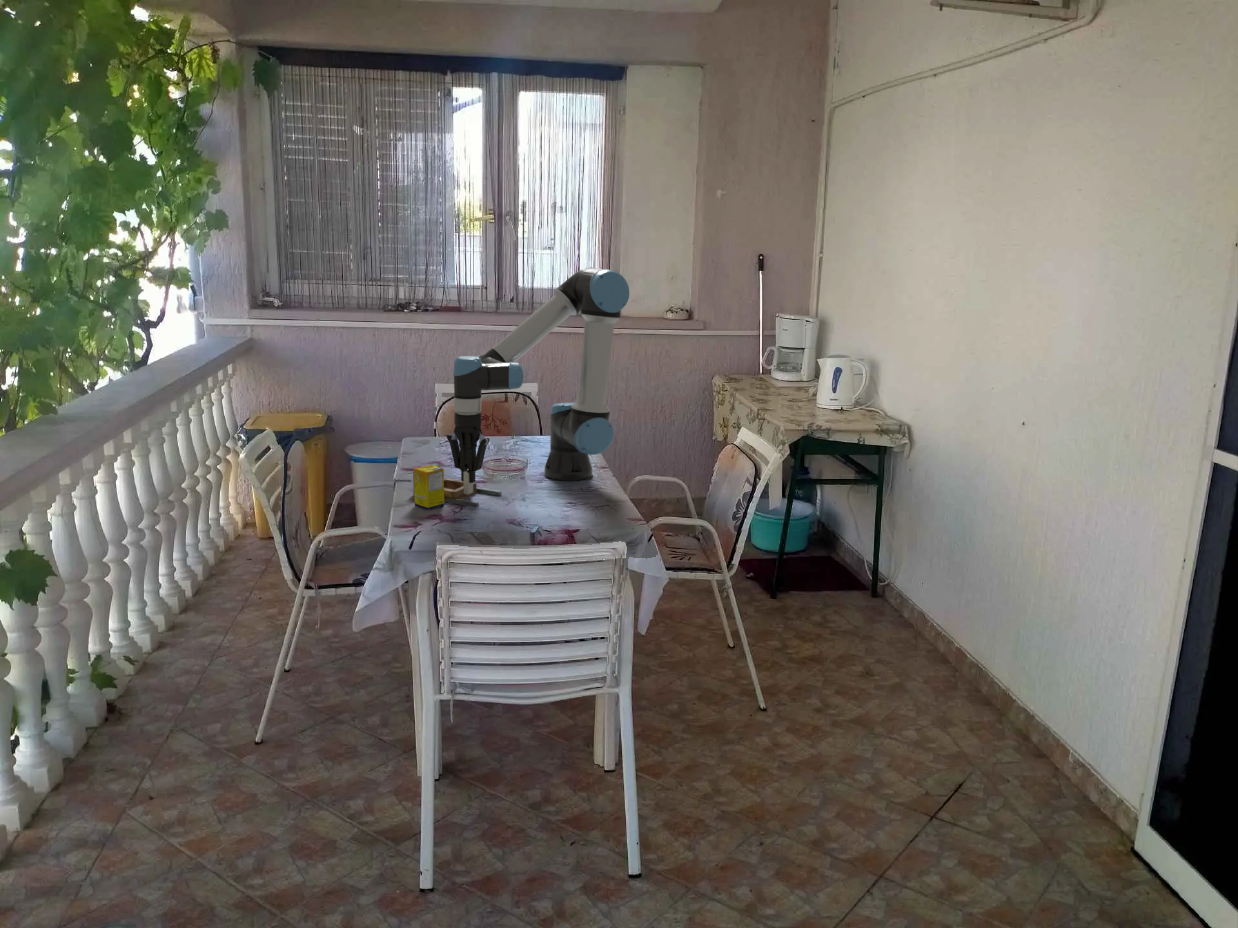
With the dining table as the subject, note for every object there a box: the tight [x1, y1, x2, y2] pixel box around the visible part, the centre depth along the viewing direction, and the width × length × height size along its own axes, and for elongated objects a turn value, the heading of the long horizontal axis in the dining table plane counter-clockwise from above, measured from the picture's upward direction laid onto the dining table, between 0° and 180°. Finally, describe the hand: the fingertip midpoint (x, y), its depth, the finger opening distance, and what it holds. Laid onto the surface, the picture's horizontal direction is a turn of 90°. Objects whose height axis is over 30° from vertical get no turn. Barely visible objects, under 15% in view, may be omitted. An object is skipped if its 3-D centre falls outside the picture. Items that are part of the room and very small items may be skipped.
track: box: [412, 463, 502, 508], centre depth 267 cm, size 22×14×7 cm, turn 67°
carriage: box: [444, 477, 477, 500], centre depth 268 cm, size 11×11×3 cm
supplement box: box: [413, 464, 445, 511], centre depth 256 cm, size 6×6×11 cm
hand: (468, 492), depth 266 cm, fingers closed
